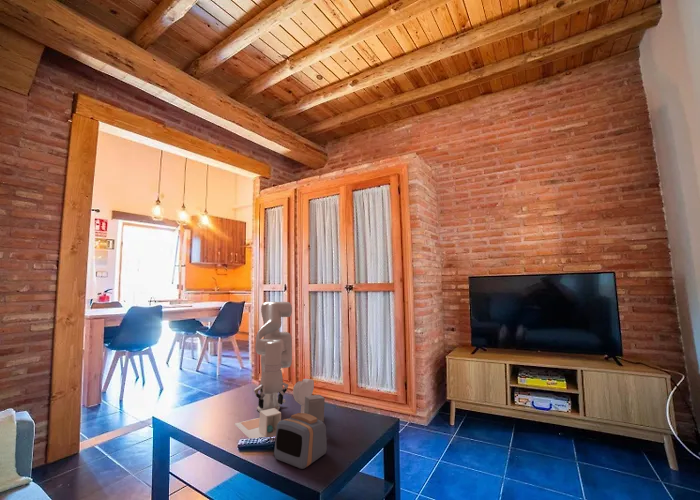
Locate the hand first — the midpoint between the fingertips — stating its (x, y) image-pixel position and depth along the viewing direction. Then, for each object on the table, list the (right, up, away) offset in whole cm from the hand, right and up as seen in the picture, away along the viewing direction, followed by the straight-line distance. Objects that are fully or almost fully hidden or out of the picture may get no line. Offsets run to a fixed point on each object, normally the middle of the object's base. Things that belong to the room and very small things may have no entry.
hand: (270, 405), depth 153 cm
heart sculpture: (+12, -16, +22) cm, 29 cm away
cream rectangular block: (0, -12, -1) cm, 12 cm away
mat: (-6, -13, +3) cm, 14 cm away
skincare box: (+20, -14, +3) cm, 24 cm away
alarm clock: (+17, -11, -21) cm, 29 cm away
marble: (0, -11, -1) cm, 11 cm away
